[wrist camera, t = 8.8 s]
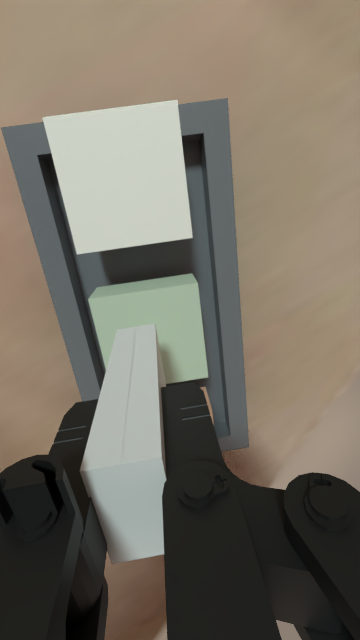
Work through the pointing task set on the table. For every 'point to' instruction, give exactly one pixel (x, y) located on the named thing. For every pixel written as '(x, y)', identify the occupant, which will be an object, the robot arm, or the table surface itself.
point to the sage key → (156, 321)
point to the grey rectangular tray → (149, 260)
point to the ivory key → (121, 175)
